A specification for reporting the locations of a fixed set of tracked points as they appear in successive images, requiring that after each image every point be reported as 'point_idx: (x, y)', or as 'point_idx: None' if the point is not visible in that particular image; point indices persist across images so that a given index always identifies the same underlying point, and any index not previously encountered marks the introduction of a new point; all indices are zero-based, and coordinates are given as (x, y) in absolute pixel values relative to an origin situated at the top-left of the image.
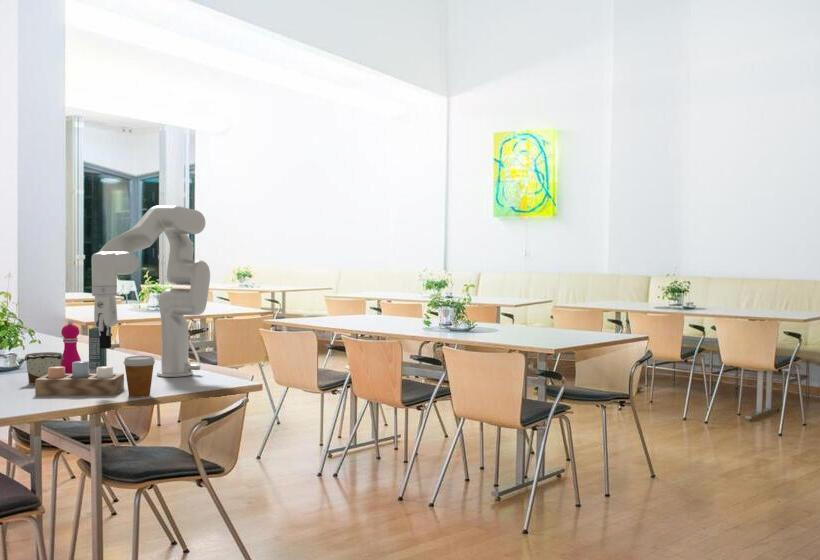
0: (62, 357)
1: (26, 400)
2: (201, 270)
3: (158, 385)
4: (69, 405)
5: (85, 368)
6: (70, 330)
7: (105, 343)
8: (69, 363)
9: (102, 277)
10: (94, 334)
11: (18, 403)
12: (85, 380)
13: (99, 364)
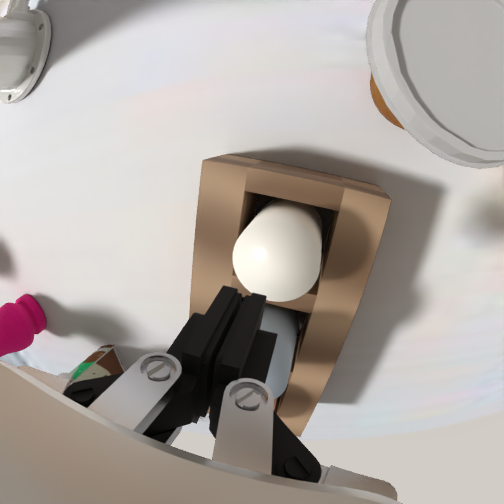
0: (65, 378)
1: (374, 412)
2: None
3: (175, 36)
4: (499, 317)
5: (283, 344)
6: None
7: (273, 351)
8: (26, 332)
9: None
10: None
11: (407, 418)
12: (352, 317)
13: None
